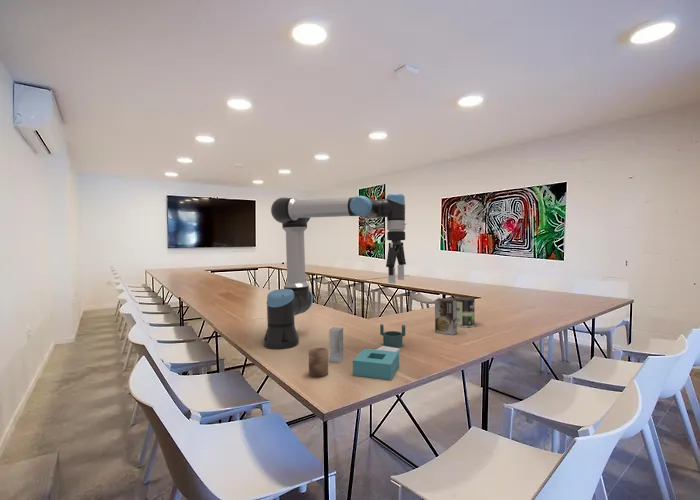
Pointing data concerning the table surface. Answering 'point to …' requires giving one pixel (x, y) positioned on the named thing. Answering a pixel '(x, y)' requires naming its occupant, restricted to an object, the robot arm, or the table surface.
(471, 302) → the coffee can
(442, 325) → the coffee box
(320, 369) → the round bit
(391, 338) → the bracket
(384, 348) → the external hard drive
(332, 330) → the square bit
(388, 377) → the socket block
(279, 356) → the table surface
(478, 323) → the table surface
